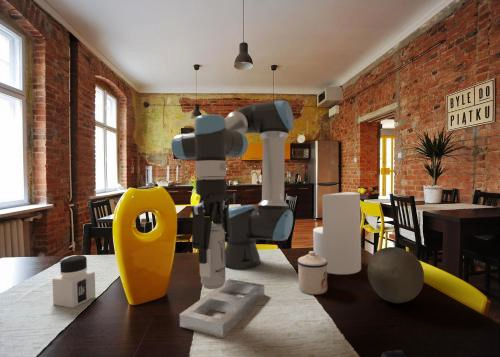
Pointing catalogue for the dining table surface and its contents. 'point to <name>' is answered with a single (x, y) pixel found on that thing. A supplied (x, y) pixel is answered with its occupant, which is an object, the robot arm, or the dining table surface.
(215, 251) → the energy drink can
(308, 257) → the teacup with lid
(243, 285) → the rail
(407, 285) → the cantaloupe
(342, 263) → the cylinder
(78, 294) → the container
